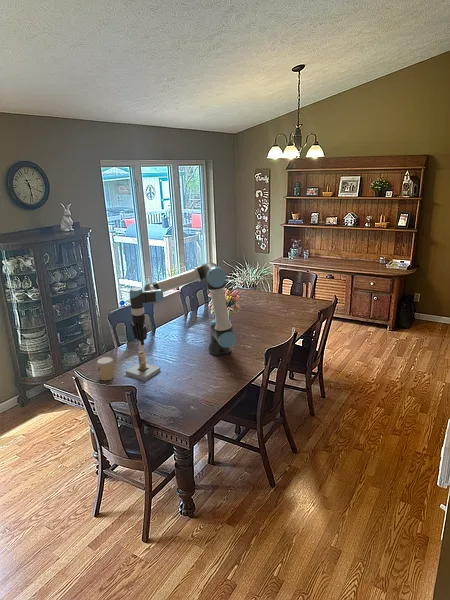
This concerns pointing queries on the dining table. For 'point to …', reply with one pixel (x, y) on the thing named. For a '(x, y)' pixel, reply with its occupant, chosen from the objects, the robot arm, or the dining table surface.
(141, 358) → the beech peg
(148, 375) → the board
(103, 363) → the coffee cup
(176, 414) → the dining table surface
